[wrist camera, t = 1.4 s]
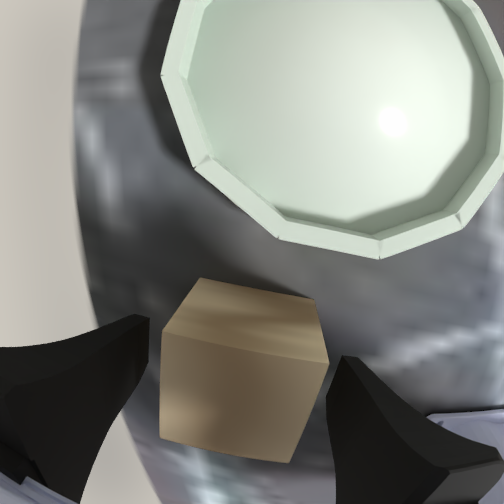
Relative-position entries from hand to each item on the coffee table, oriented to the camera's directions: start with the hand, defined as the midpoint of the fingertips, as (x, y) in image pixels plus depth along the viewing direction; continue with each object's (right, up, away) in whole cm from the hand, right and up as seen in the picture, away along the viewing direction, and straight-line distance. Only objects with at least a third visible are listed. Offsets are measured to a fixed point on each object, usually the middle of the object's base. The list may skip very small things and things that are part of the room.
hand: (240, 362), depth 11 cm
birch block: (0, 0, +2) cm, 2 cm away
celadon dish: (+4, +10, -1) cm, 11 cm away
